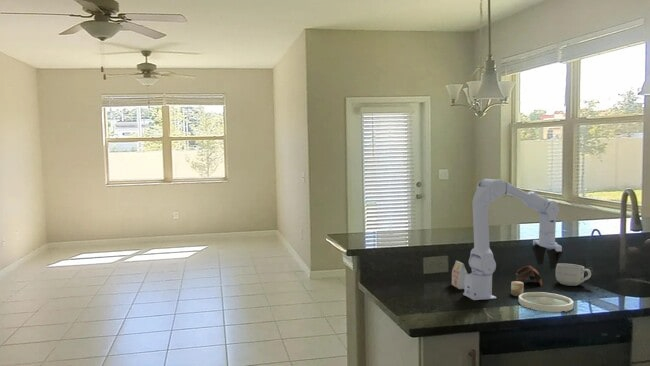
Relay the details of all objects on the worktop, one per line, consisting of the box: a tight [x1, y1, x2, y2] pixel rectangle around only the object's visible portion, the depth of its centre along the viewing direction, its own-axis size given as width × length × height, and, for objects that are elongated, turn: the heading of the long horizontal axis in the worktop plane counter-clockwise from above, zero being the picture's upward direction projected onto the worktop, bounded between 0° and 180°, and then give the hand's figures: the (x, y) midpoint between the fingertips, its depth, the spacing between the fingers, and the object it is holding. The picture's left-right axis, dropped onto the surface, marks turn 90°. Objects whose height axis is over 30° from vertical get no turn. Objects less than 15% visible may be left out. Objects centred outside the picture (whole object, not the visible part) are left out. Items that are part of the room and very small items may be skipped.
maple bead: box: [510, 280, 525, 297], centre depth 198 cm, size 4×4×4 cm
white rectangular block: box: [451, 260, 469, 290], centre depth 209 cm, size 4×7×10 cm, turn 10°
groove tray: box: [518, 291, 575, 313], centre depth 185 cm, size 18×18×2 cm
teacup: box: [554, 262, 592, 287], centre depth 212 cm, size 14×11×8 cm
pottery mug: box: [514, 265, 543, 287], centre depth 216 cm, size 12×10×8 cm
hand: (546, 266), depth 201 cm, fingers open, 7 cm apart
